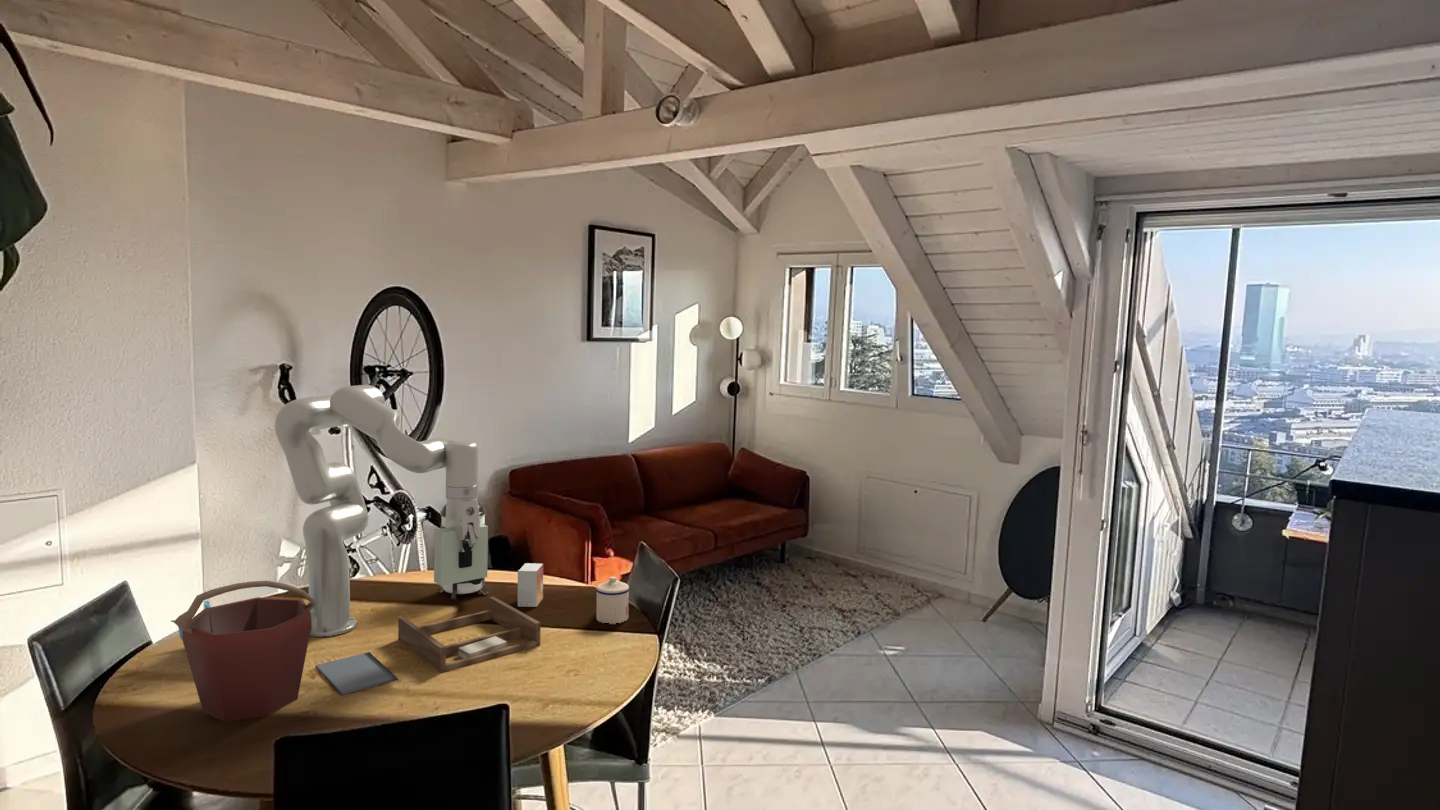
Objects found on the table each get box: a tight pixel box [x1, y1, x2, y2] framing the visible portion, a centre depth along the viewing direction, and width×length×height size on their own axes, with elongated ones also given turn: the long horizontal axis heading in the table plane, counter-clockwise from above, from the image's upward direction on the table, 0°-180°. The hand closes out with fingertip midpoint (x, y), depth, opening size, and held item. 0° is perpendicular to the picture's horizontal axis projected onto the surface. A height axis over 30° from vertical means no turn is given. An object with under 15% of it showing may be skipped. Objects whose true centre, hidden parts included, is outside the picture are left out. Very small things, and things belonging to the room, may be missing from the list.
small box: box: [517, 562, 544, 608], centre depth 230 cm, size 8×6×10 cm
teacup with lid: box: [595, 576, 631, 625], centre depth 220 cm, size 12×9×12 cm
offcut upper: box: [457, 636, 508, 659], centre depth 191 cm, size 10×5×2 cm, turn 139°
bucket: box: [173, 580, 316, 723], centre depth 166 cm, size 24×22×25 cm
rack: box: [397, 596, 541, 673], centre depth 197 cm, size 25×25×7 cm
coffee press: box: [437, 501, 490, 602], centre depth 235 cm, size 17×16×30 cm
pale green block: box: [433, 523, 489, 587], centre depth 198 cm, size 12×4×13 cm, turn 133°
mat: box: [315, 651, 400, 696], centre depth 183 cm, size 18×18×1 cm
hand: (461, 564), depth 198 cm, fingers closed on pale green block, 4 cm apart
